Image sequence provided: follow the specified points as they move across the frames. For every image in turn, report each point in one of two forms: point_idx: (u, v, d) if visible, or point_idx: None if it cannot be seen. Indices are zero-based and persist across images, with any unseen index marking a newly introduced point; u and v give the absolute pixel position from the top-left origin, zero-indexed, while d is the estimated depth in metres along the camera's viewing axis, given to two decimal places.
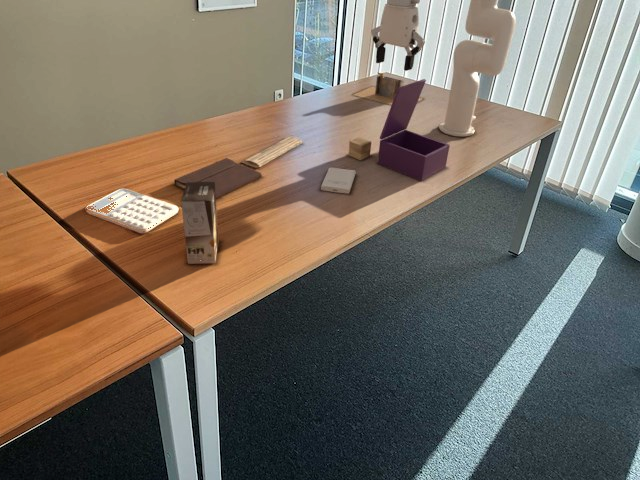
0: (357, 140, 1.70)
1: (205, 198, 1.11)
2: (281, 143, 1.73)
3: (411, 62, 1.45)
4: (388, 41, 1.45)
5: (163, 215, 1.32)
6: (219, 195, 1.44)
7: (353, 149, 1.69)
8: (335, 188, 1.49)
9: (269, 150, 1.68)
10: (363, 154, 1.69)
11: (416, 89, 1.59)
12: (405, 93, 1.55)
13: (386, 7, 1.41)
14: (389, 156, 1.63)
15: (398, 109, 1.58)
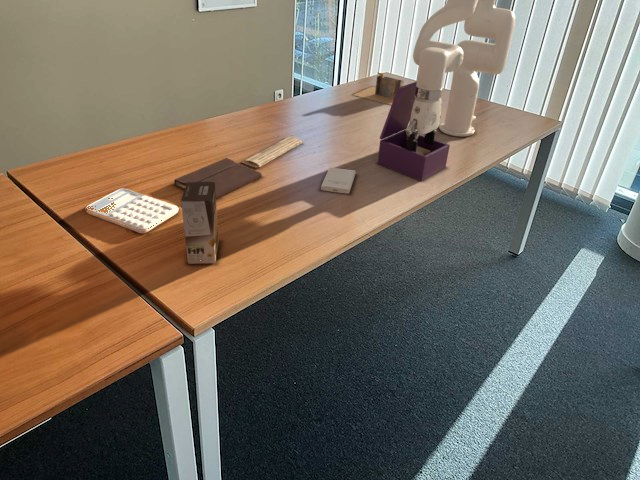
0: (416, 149, 1.63)
1: (205, 198, 1.11)
2: (281, 143, 1.73)
3: (410, 147, 1.58)
4: None
5: (163, 215, 1.32)
6: (219, 195, 1.44)
7: None
8: (336, 188, 1.49)
9: (269, 150, 1.68)
10: None
11: None
12: (405, 93, 1.55)
13: None
14: (389, 156, 1.63)
15: (398, 109, 1.58)
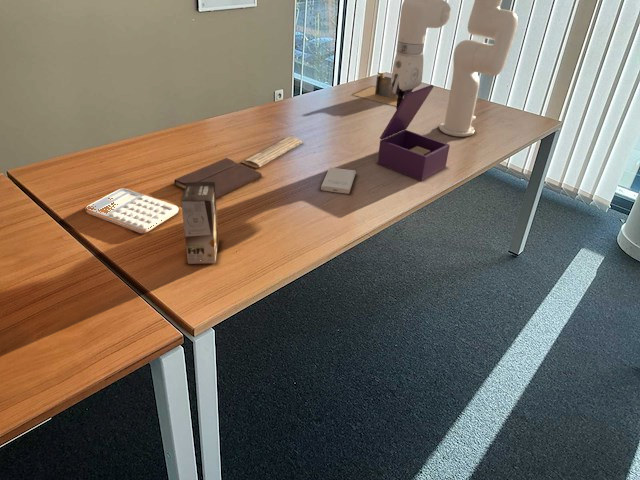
0: (416, 149, 1.63)
1: (205, 198, 1.11)
2: (281, 143, 1.73)
3: None
4: None
5: (163, 215, 1.32)
6: (219, 195, 1.44)
7: None
8: (336, 188, 1.49)
9: (269, 150, 1.68)
10: None
11: (423, 94, 1.58)
12: (412, 99, 1.54)
13: None
14: (389, 156, 1.63)
15: (402, 113, 1.58)
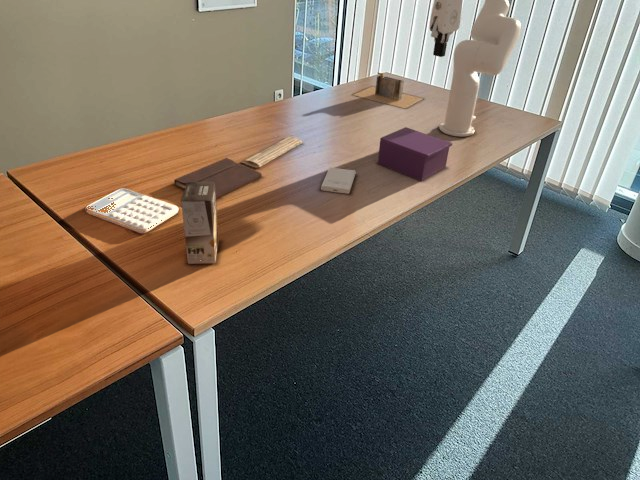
0: None
1: (205, 198, 1.11)
2: (281, 143, 1.73)
3: (437, 49, 1.59)
4: None
5: (163, 215, 1.32)
6: (219, 195, 1.44)
7: None
8: (336, 188, 1.49)
9: (269, 150, 1.68)
10: None
11: None
12: None
13: None
14: (389, 156, 1.63)
15: None
